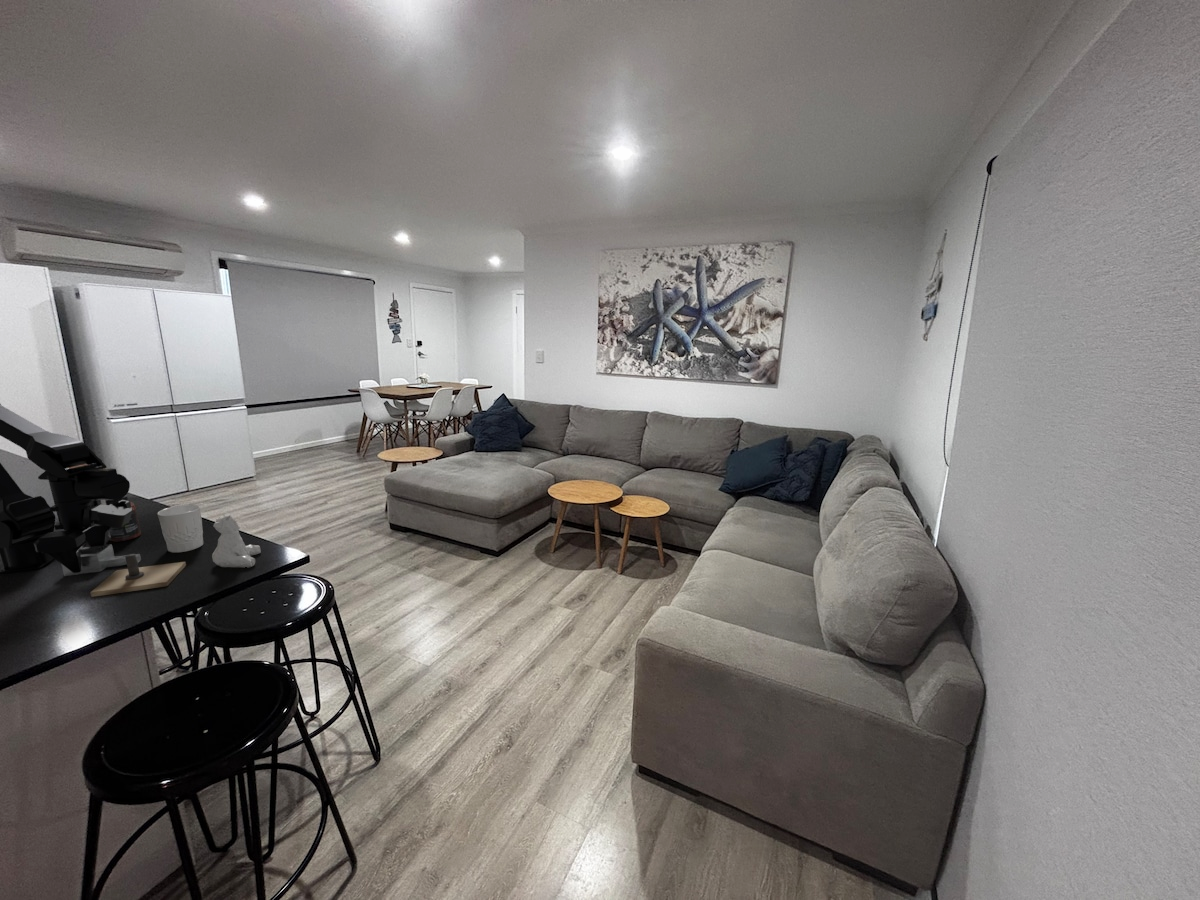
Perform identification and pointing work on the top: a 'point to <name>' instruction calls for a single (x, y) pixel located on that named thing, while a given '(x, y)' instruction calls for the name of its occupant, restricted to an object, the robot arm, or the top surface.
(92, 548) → the white handled block
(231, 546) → the sitting furry creature
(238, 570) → the top surface
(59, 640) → the top surface
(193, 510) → the white cup
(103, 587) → the board
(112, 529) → the supplement bottle
